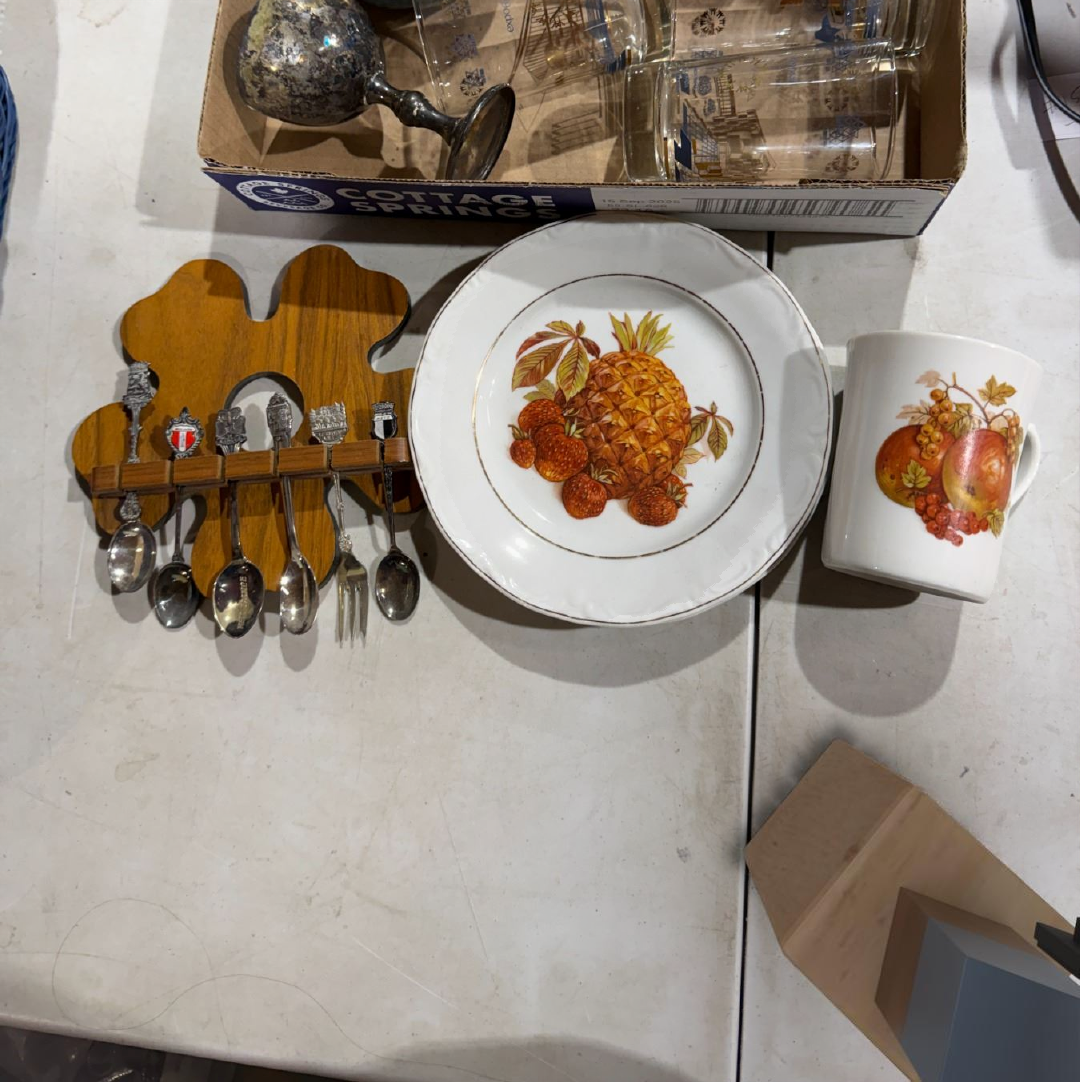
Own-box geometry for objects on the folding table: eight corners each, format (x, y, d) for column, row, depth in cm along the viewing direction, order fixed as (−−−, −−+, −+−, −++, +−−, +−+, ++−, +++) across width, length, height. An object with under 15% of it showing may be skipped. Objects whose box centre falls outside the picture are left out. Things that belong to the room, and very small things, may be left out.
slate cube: (1028, 1097, 38) (1081, 1165, 34) (899, 1046, 39) (934, 1105, 35) (1053, 962, 40) (1109, 1010, 35) (928, 916, 40) (965, 955, 36)
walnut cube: (987, 1046, 43) (1029, 1099, 38) (873, 1001, 44) (901, 1048, 39) (1011, 927, 44) (1055, 964, 40) (899, 886, 45) (929, 918, 40)
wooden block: (738, 852, 64) (776, 950, 45) (836, 734, 65) (913, 781, 46) (862, 973, 62) (958, 1131, 43) (961, 848, 63) (1098, 948, 44)
